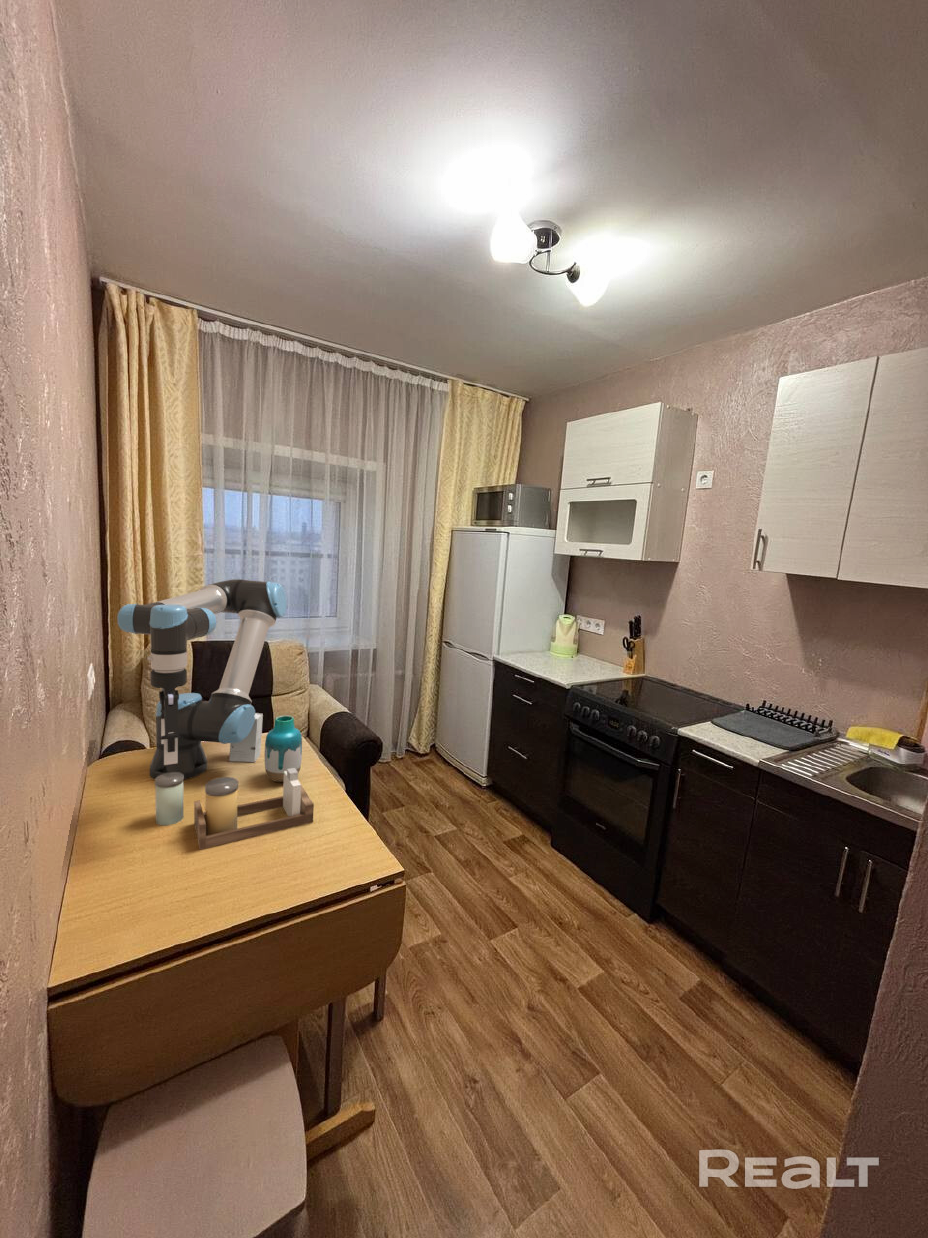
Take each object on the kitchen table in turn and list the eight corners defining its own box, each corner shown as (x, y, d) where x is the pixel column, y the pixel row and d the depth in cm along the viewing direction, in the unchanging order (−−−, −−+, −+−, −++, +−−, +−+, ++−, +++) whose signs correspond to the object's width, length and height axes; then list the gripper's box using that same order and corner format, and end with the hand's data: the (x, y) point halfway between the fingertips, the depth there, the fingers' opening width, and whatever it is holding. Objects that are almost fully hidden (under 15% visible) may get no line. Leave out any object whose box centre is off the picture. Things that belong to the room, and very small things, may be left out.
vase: (306, 773, 153) (309, 714, 151) (291, 789, 143) (293, 726, 140) (274, 769, 154) (276, 710, 152) (257, 784, 144) (258, 722, 141)
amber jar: (203, 827, 121) (203, 780, 120) (234, 820, 125) (235, 775, 124) (206, 842, 115) (207, 793, 114) (239, 834, 119) (240, 787, 118)
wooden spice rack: (194, 823, 122) (194, 801, 121) (300, 800, 137) (300, 780, 136) (199, 849, 112) (199, 825, 112) (313, 822, 127) (313, 800, 126)
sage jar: (154, 815, 124) (154, 775, 123) (182, 810, 128) (182, 770, 126) (155, 828, 119) (155, 785, 118) (184, 822, 123) (184, 780, 121)
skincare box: (229, 761, 157) (229, 717, 155) (236, 754, 163) (236, 711, 161) (256, 762, 158) (257, 718, 155) (262, 755, 163) (263, 712, 161)
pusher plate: (282, 806, 133) (284, 764, 131) (290, 804, 134) (291, 763, 132) (291, 823, 125) (293, 779, 124) (299, 821, 126) (301, 777, 125)
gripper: (148, 658, 126) (149, 737, 129) (152, 683, 106) (152, 776, 109) (182, 657, 130) (182, 733, 133) (191, 681, 110) (191, 770, 113)
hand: (169, 752), depth 121 cm, fingers open, 13 cm apart
